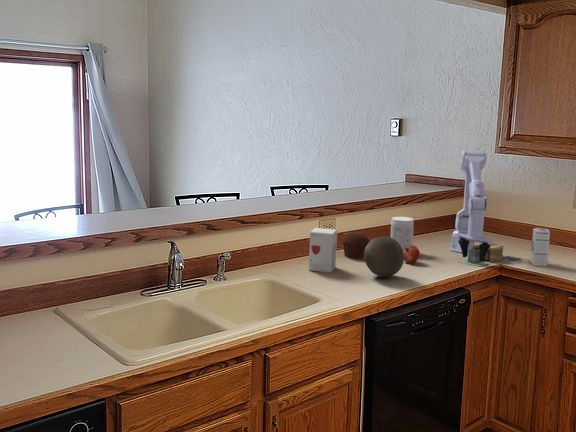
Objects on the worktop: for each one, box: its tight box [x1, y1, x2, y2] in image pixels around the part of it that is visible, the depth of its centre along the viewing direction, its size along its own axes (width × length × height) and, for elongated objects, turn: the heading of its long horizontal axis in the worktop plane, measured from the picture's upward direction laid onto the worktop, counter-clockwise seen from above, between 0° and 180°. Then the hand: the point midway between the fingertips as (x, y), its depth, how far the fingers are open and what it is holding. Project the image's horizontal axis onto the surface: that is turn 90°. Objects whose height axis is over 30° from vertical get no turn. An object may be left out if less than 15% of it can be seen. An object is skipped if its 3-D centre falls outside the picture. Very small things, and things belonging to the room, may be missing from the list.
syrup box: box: [529, 227, 551, 267], centre depth 251 cm, size 6×6×14 cm
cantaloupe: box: [363, 236, 405, 278], centre depth 225 cm, size 14×14×15 cm
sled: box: [467, 248, 490, 263], centre depth 256 cm, size 5×16×5 cm, turn 133°
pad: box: [457, 258, 491, 268], centre depth 252 cm, size 10×9×1 cm
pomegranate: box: [403, 244, 421, 265], centre depth 249 cm, size 7×7×10 cm
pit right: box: [502, 255, 522, 262], centre depth 261 cm, size 6×6×1 cm
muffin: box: [341, 231, 371, 260], centre depth 257 cm, size 12×11×10 cm
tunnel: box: [472, 242, 504, 264], centre depth 258 cm, size 9×9×6 cm
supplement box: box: [308, 227, 338, 273], centre depth 234 cm, size 9×9×15 cm
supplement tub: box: [390, 216, 415, 250], centre depth 266 cm, size 10×10×15 cm
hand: (473, 258), depth 251 cm, fingers open, 7 cm apart
